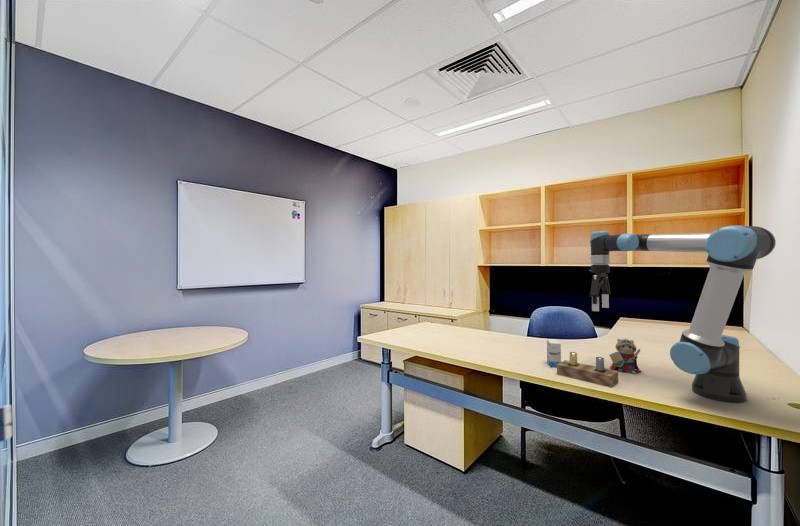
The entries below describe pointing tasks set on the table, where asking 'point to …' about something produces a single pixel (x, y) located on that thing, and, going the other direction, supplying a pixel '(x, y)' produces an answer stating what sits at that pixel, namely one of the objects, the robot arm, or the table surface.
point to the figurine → (625, 356)
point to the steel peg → (600, 364)
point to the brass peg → (573, 359)
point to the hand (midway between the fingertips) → (600, 309)
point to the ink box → (553, 352)
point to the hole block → (588, 373)
